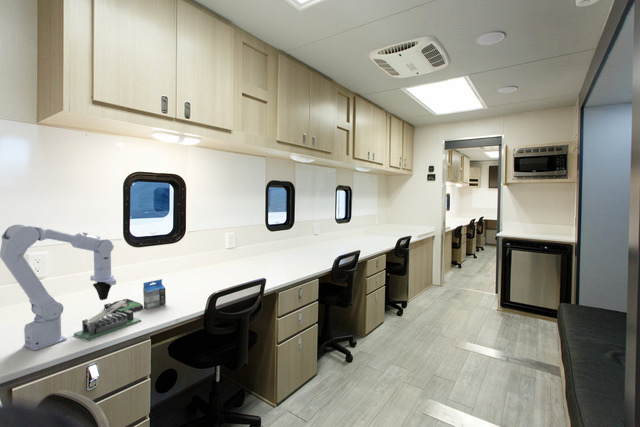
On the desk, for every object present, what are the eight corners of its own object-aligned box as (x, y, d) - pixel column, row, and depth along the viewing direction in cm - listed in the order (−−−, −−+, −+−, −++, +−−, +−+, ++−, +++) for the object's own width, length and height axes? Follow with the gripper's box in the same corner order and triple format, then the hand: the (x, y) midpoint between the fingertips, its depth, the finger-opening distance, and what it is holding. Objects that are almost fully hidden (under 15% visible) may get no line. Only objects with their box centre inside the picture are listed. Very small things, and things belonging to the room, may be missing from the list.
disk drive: (103, 310, 140) (120, 317, 133) (103, 304, 140) (120, 311, 133) (126, 303, 149) (144, 309, 142) (126, 298, 149) (143, 303, 142)
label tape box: (147, 309, 141) (146, 284, 140) (143, 307, 143) (143, 282, 142) (165, 304, 148) (165, 280, 147) (162, 302, 150) (161, 278, 149)
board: (88, 341, 110) (88, 330, 110) (73, 335, 114) (73, 324, 114) (141, 321, 128) (140, 311, 128) (126, 316, 132) (126, 307, 132)
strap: (90, 328, 114) (88, 323, 113) (86, 327, 115) (83, 322, 114) (127, 305, 126) (125, 301, 125) (122, 304, 127) (121, 299, 126)
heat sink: (91, 336, 112) (91, 323, 112) (81, 332, 115) (81, 320, 115) (127, 323, 124) (126, 311, 124) (117, 319, 127) (116, 308, 127)
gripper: (123, 267, 124) (124, 299, 125) (102, 263, 130) (103, 293, 131) (105, 271, 117) (105, 304, 118) (84, 266, 123) (85, 298, 124)
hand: (103, 299), depth 124 cm, fingers closed
